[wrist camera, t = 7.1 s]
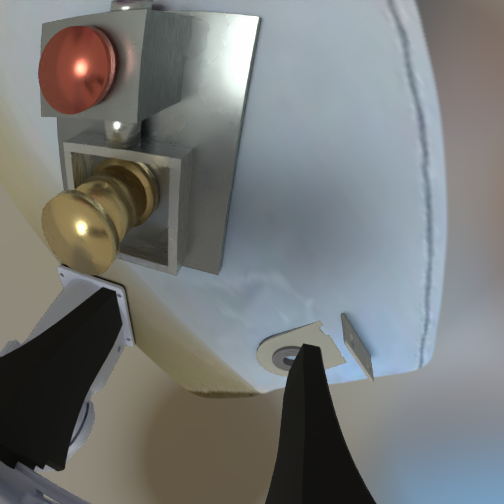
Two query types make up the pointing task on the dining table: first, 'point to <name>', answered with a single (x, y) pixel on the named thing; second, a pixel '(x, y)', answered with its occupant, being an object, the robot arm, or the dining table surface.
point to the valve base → (154, 116)
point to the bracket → (291, 341)
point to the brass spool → (99, 214)
